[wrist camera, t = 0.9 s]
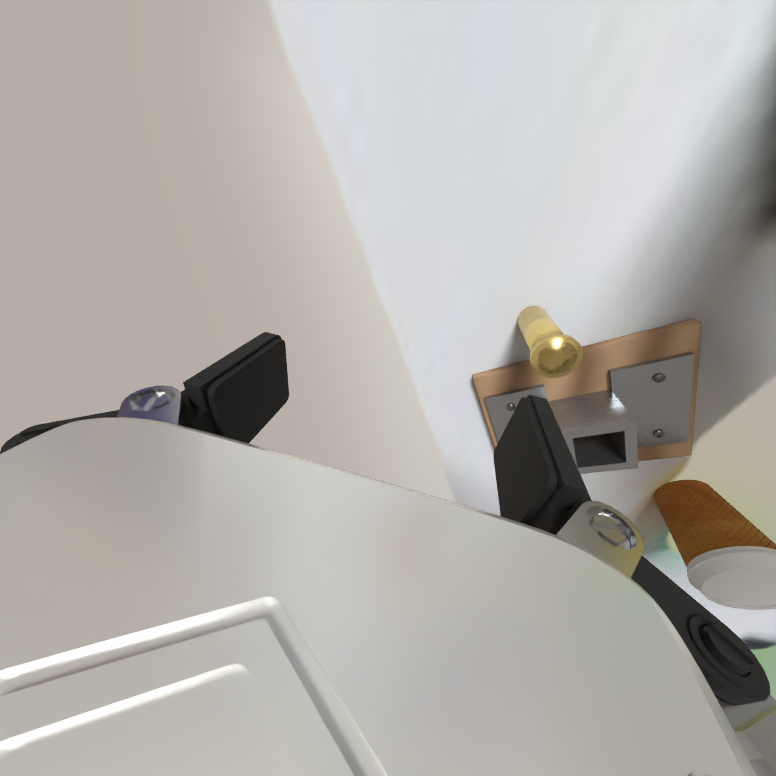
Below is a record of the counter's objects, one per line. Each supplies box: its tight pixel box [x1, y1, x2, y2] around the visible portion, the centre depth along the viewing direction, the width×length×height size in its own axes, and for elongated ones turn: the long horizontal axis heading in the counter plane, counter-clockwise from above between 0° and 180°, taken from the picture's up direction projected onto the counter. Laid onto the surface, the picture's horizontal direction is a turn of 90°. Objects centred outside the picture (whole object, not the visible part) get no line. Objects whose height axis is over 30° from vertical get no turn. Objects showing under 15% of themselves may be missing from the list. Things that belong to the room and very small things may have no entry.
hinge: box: [485, 352, 694, 474], centre depth 33 cm, size 21×12×6 cm, turn 114°
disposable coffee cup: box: [654, 480, 776, 610], centre depth 34 cm, size 10×10×12 cm
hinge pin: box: [517, 306, 583, 378], centre depth 27 cm, size 4×4×10 cm
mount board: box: [473, 319, 701, 461], centre depth 36 cm, size 22×18×1 cm
